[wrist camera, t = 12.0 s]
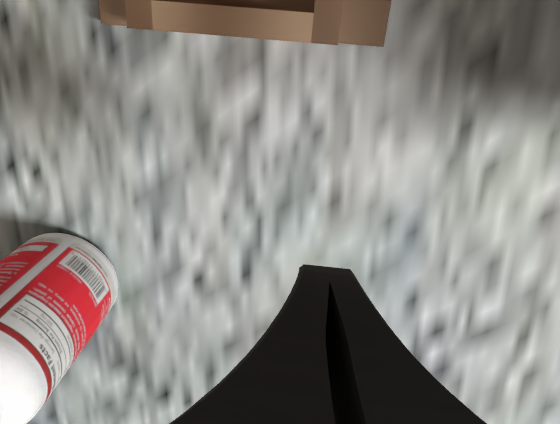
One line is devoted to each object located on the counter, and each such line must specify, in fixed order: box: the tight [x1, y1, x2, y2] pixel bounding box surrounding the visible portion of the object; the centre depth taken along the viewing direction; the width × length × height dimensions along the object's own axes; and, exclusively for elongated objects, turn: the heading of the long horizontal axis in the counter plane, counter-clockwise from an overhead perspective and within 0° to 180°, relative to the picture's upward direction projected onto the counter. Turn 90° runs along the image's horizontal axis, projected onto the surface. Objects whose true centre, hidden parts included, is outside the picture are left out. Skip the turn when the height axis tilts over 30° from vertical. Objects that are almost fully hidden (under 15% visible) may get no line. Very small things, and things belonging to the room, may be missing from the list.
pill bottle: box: [0, 233, 118, 424], centre depth 19 cm, size 6×6×11 cm
